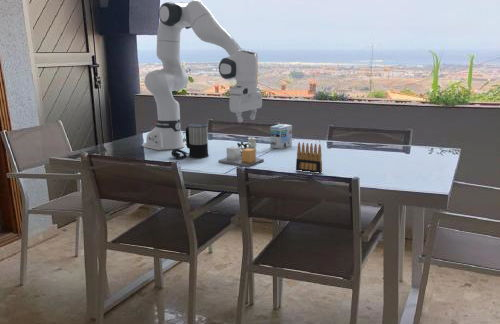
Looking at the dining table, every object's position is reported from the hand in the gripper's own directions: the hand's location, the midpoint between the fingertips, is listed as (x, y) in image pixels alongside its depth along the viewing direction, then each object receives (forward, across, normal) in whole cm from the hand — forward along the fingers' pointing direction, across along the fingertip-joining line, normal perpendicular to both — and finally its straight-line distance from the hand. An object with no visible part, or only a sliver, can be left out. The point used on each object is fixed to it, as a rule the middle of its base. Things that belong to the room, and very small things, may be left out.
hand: (246, 120), depth 203 cm
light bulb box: (+19, -37, -3) cm, 41 cm away
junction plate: (+18, +1, -2) cm, 18 cm away
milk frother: (+19, +6, -28) cm, 34 cm away
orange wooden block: (+17, +1, +2) cm, 18 cm away
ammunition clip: (+18, +1, +31) cm, 36 cm away
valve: (+19, -16, -10) cm, 26 cm away
